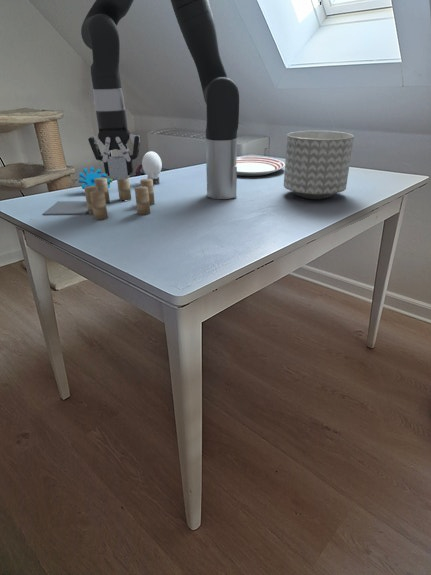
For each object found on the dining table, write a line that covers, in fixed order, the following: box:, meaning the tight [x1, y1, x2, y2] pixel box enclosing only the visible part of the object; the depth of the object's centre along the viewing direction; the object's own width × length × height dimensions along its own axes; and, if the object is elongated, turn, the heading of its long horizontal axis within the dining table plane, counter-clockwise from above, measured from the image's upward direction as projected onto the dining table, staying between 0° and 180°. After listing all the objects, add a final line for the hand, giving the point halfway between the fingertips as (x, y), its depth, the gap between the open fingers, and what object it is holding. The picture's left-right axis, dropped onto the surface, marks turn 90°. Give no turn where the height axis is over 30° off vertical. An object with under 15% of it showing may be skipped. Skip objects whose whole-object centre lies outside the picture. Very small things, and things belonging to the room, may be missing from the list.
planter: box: [283, 130, 355, 200], centre depth 119 cm, size 19×19×18 cm
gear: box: [78, 166, 114, 190], centre depth 131 cm, size 11×6×10 cm
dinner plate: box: [236, 156, 285, 177], centre depth 157 cm, size 27×27×3 cm
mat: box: [42, 200, 89, 216], centre depth 114 cm, size 12×12×1 cm
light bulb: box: [141, 150, 163, 186], centre depth 137 cm, size 7×7×11 cm
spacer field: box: [83, 177, 156, 221], centre depth 113 cm, size 18×22×7 cm
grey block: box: [107, 155, 131, 181], centre depth 109 cm, size 5×6×6 cm
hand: (119, 174), depth 110 cm, fingers closed on grey block, 5 cm apart
